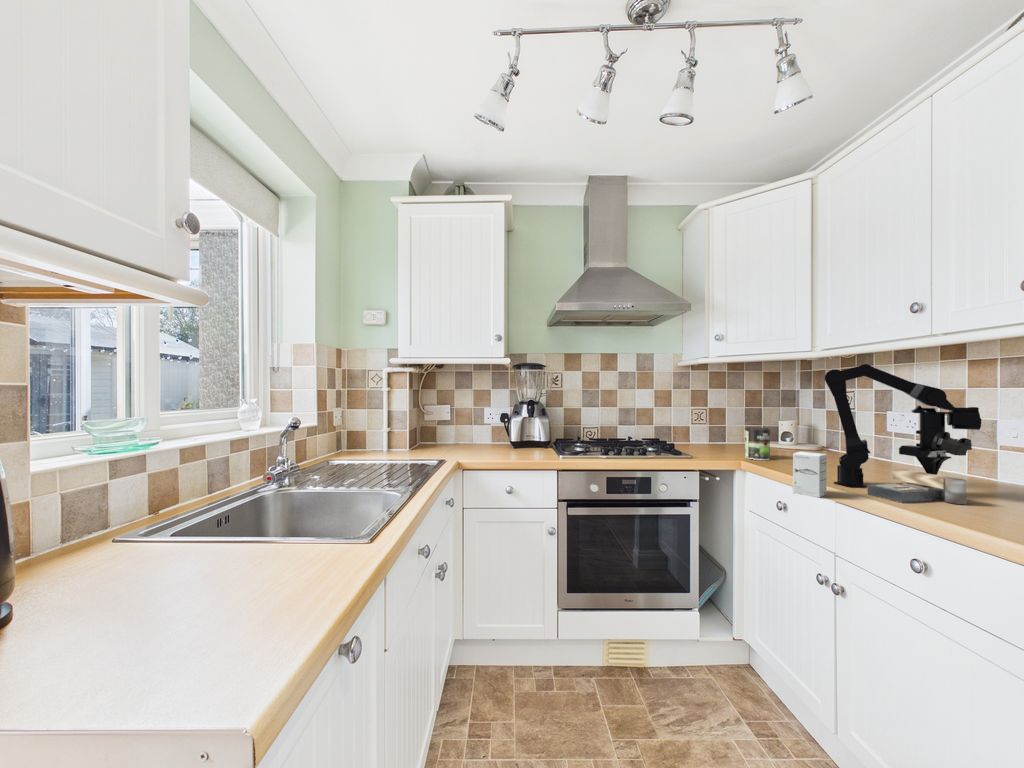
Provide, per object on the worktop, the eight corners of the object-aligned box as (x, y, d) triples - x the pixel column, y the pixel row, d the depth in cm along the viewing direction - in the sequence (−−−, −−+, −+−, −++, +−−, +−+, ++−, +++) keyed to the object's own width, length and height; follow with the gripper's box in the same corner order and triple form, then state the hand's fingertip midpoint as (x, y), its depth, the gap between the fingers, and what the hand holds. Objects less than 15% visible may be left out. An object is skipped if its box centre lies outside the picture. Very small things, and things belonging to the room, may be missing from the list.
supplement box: (791, 493, 137) (791, 453, 138) (800, 490, 142) (800, 450, 142) (819, 498, 132) (819, 455, 132) (827, 494, 137) (827, 453, 137)
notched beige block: (970, 503, 125) (970, 480, 125) (958, 504, 124) (958, 481, 124) (903, 489, 142) (903, 469, 142) (892, 490, 141) (892, 469, 141)
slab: (867, 494, 136) (867, 483, 136) (919, 491, 140) (919, 481, 140) (901, 503, 127) (901, 491, 127) (956, 499, 131) (956, 488, 131)
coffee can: (775, 460, 200) (775, 429, 201) (755, 461, 198) (755, 429, 198) (758, 456, 211) (758, 427, 211) (739, 457, 208) (739, 427, 209)
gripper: (937, 431, 128) (937, 485, 128) (987, 430, 132) (987, 482, 132) (897, 427, 139) (897, 477, 139) (944, 426, 143) (944, 475, 143)
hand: (932, 478), depth 138 cm, fingers closed
